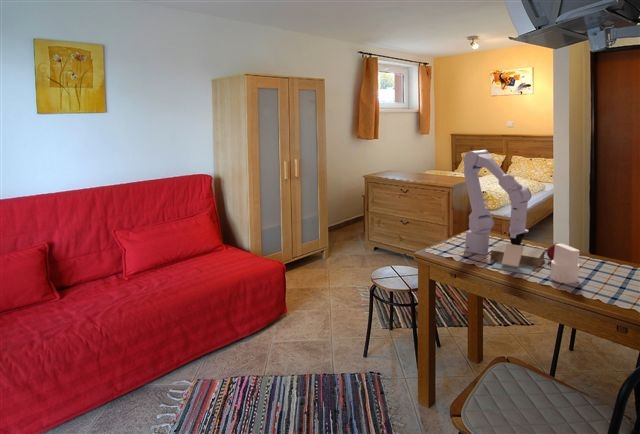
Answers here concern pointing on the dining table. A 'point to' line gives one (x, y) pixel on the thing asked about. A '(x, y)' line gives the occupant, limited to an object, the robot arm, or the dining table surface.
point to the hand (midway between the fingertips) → (515, 251)
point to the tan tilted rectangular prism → (512, 255)
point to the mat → (521, 269)
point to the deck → (528, 256)
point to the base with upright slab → (565, 264)
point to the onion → (551, 251)
